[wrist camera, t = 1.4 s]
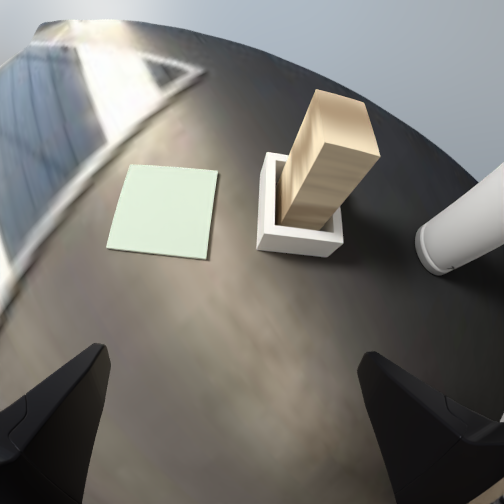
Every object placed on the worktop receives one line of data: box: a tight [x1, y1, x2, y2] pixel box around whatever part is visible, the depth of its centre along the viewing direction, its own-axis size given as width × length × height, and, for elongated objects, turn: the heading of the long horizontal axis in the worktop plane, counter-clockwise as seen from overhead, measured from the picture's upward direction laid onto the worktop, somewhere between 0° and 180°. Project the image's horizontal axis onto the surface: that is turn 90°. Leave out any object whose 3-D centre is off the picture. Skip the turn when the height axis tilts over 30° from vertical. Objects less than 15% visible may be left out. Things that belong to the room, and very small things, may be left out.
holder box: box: [256, 152, 343, 257], centre depth 25 cm, size 8×7×4 cm
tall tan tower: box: [275, 89, 380, 231], centre depth 21 cm, size 5×4×12 cm
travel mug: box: [415, 163, 504, 275], centre depth 19 cm, size 6×7×20 cm
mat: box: [106, 165, 218, 260], centre depth 25 cm, size 9×9×1 cm
